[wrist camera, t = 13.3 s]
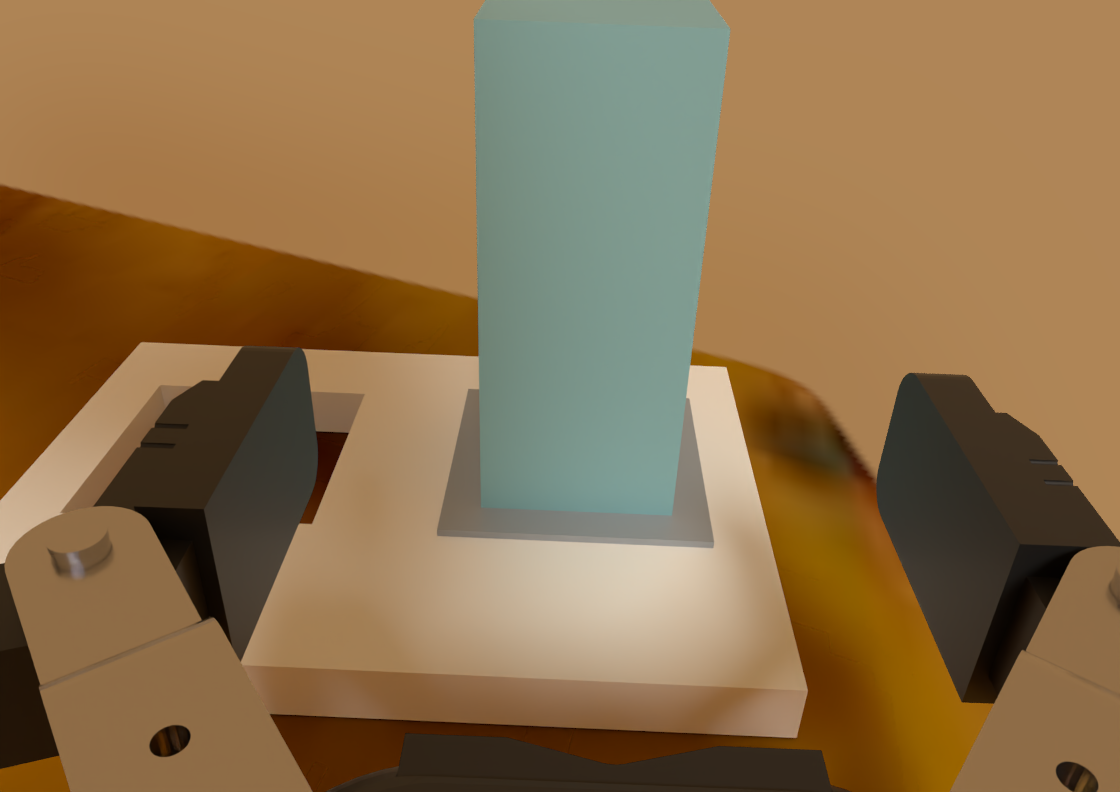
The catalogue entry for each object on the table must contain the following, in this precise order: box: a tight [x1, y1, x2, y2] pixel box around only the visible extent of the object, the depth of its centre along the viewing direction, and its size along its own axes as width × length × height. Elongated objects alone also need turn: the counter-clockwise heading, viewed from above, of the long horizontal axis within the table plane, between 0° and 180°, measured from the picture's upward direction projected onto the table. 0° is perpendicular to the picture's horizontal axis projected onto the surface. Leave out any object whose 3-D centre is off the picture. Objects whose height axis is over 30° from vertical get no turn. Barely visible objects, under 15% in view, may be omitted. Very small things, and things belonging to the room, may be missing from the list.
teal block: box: [474, 0, 730, 516], centre depth 23 cm, size 5×5×12 cm
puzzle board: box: [0, 342, 808, 738], centre depth 26 cm, size 20×14×2 cm
